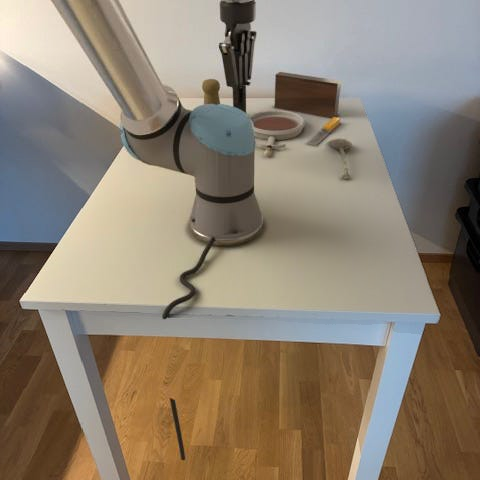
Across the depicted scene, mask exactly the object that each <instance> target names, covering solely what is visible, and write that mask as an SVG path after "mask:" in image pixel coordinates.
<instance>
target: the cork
mask: <svg viewBox="0 0 480 480" xmlns="http://www.w3.org/2000/svg"><path fill="white" fill-rule="evenodd" d="M220 89H221V84H220V82H219V80H218V79H215V78H208V79H205V80H204V81H202V84H201V90H202V91H203V105H205V104H214V105H218V104H221V101H220V93H219V92H220Z"/></svg>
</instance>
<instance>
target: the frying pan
mask: <svg viewBox="0 0 480 480" xmlns="http://www.w3.org/2000/svg"><path fill="white" fill-rule="evenodd" d="M249 117H250V118H251V121H252V122H253V125H254V136H255V138H259V139H262V140H267V142H266V144H262V143H258V142H256V143H255V147H258V148H260V149H266V150H265V151H264V152H263V154H264V156H265V157H267V158H269V157H271V155H272V153H271V151H272V150H271V149H275V150H276V149H277V150H278V149H283V148H286V143H283V144H274V143H275V141H283V140H290V139H293V138H295V137H298V136H299V135H300V134H301V133H302V132H303V128H304V127H305V125H306V122H305V119H304V118H303V116H302V115H300V114H298V113H296V112H294V111H290V110H283V109H269V110H262V111H258V112H255V113H253V114H251V115H249Z"/></svg>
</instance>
